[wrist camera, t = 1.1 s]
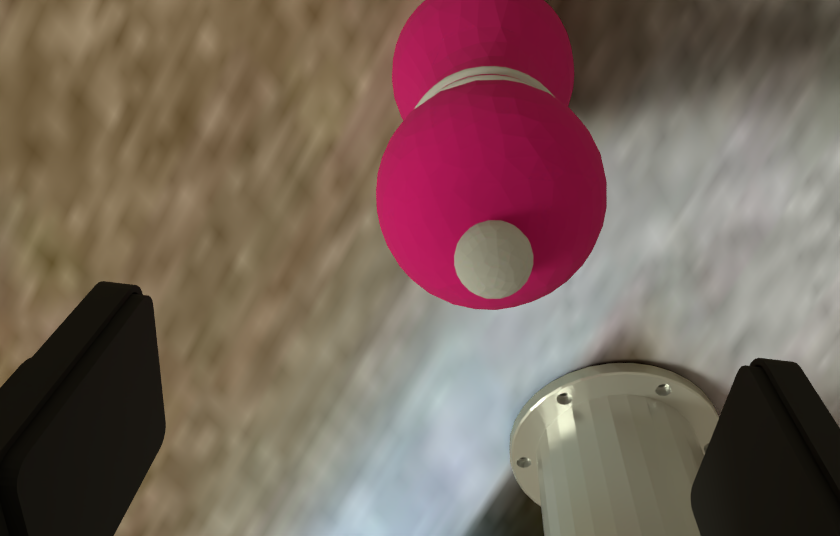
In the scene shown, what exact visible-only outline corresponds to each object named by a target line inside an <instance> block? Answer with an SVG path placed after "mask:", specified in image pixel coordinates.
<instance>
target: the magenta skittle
mask: <svg viewBox="0 0 840 536" xmlns="http://www.w3.org/2000/svg"><path fill="white" fill-rule="evenodd" d="M392 82H393V90H394V97H395V100H396V103H397V106H398V109H399V112H400V114H401V117H402V119H403V120H404V121H403V122H402V123H401V125H400V126H399V127H398V129H397V130H396V131H395V133H394V134H393V136H392V137H391V139H390V141H389V143H388V145H387V148H386V150H385V152H384V154H383V157H382V160H381V164H380V167H379V171H378V177H377V187H376V199H377V213H378V218H379V223H380V227H381V230H382V233H383V235H384V238H385V241H386V243H387V246H388V248H389V249H390V251H391V253H392V254H393V256H394V257H395V259H396V261H397V262H398V264H399V266H400V267H401V268H402V269H403V270H404V271H405V273H406V274H407V275H408V276H409V277H410V278H411V279H412V280H413V281H414V282H416V283H417V284H418V285H420V286H421V287H422V288H423V289H425V290H426V291H427V292H429V293H430V294H432V295H434V296H437V297H439V298H441V299H443V300H445V301H447V302H450V303H452V304H455V305H459V306H464V307H468V308H473V309H488V310H498V309H504V308H510V307H515V306H519V305H522V304H526V303H529V302H532V301H534V300H537V299H539V298H541V297H543V296H545V295H547V294H550V293H551V292H553V291H554V290H555V289H557V288H558V287H560V286H561V285H562V284H564V283H565V282H567V281H568V280H569V279H570V278H571V277H572V276H573V274H574V273H575V272H576V271H577V270H578V269H579V268H580V267H581V266H582V265H583V264H584V262H585V261H586V259H587V258H588V256H589V255H590V253H591V252H592V250H593V247H594V245H595V243H596V241H597V239H598V236H599V234H600V231H601V229H602V227H603V222H604V217H605V212H606V177H605V173H604V168H603V164H602V159H601V154H600V152H599V150H598V148H597V146H596V144H595V142H594V140H593V138H592V136H591V134H590V132H589V131H588V129H587V128H586V127H585V125H584V124H583V123H582V122H581V121H580V119H579V118H578V117H577V116H576V115H575V114H574V113H573V112H572V110H571V109H570V108H569V107H568V105H569V102H570V98H571V95H572V91H573V84H574V63H573V55H572V48H571V44H570V41H569V38H568V34H567V32H566V30H565V28H564V26H563V24H562V22H561V20H560V18H559V17H558V15H557V14H556V13H555V11H554V10H553V9H552V7H551V6H550V5H548V4H547V3H546V2H545V1H544V0H425V1H424V2H423V3H422V4H421V5H420V6H418V7H417V9H416V10H415V11H414V12H413V14H412V15H411V16H410V17H409V19H408V20H407V22H406V24H405V26H404V27H403V29H402V31H401V33H400V36H399V39H398V41H397V44H396V48H395V52H394V57H393V71H392Z"/></svg>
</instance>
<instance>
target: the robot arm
mask: <svg viewBox="0 0 840 536" xmlns="http://www.w3.org/2000/svg"><path fill="white" fill-rule="evenodd" d="M165 428H166V423H165V413H164V403H163V394H162V384H161V375H160V365H159V356H158V346H157V337H156V327H155V318H154V308H153V302H152V299H151V297H150V296H146V295H143V294H142V291H141V289H140V287H139V286H137V285H130V284H122V283H113V282H105V281H103V282H99V283H98V284H96V285H95V286H94V288H93V289H92V290H91V291H90V292H89V293H88V294H87V296H86V297H85V298H84V299H83V300H82V301H81V302H80V303H79V305H78V306H77V307H76V308H75V309H74V310H73V311H72V313H71V314H70V315H69V316H68V317H67V318H66V319H65V320H64V322H63V323H62V324H61V325H60V326H59V327H58V328H57V329H56V331H55V332H54V333H53V334H52V335H51V336H50V337H49V339H48V340H47V341H46V342H45V343H44V344H43V345H42V346H41V348H40V349H39V350H38V351H37V352H36V353H35V354H34V356H33V357H32V358H29V359H27V360H26V361H25V362H24V363H23V364H21V365H20V366H19V367H18V369H17V370H16V371H15V372H14V373H13V374H12V375H11V376H10V378H9V379H8V380H7V381H6V382H5V383H4V384H3V385H2V387H1V388H0V536H114V534H115V532H116V530H117V528H118V526H119V524H120V523H121V521H122V519H123V517H124V515H125V513H126V511H127V509H128V508H129V506H130V504H131V502H132V500H133V498H134V496H135V494H136V492H137V491H138V489H139V487H140V485H141V483H142V481H143V479H144V477H145V475H146V474H147V472H148V470H149V468H150V466H151V464H152V462H153V460H154V459H155V457H156V455H157V453H158V451H159V449H160V447H161V445H162V442H163V439H164V435H165ZM509 450H510V462H511V467H512V470H513V473H514V476H515V478H516V480H517V482H518V483H519V485H520V486H521V488H522V490H523V491H524V492H525V493H526V494H527V495H528V496H529V497H530V498H531V499H532V500H533V501H534V502H535V503H537V504H538V505H540V506H541V508H542V517H543V526H544V536H840V428H839V427H838V425H837V423H836V422H835V420H834V419H833V417H832V416H831V414H830V413H829V411H828V409H827V408H826V406H825V405H824V403H823V402H822V400H821V398H820V397H819V395H818V394H817V392H816V391H815V389H814V388H813V386H812V384H811V383H810V381H809V380H808V378H807V377H806V375H805V374H804V372H803V370H802V369H801V367H800V366H799V365H798V364H797V363H794V362H789V361H781V360H772V359H764V358H757V359H754V360H753V361H752V362H751V364H750V366H742V367H741V368H740V369H739V371H738V372H737V375H736V377H735V380H734V382H733V385H732V387H731V390H730V392H729V395H728V397H727V400H726V402H725V405H724V407H723V410H722V412H721V415H720V417H719V416H718V414H717V412H716V410H715V408H714V406H713V404H712V402H711V401H710V400H709V399H708V397H707V396H706V395H705V394H704V392H703V391H702V390H701V389H699V388H698V387H697V386H696V385H694V384H693V383H692V382H691V381H689V380H688V379H686V378H684V377H682V376H680V375H678V374H676V373H674V372H672V371H669V370H665V369H662V368H659V367H655V366H651V365H644V364H636V363H609V364H603V365H597V366H591V367H587V368H584V369H581V370H577V371H574V372H571V373H568V374H566V375H564V376H562V377H560V378H558V379H556V380H555V381H553V382H551V383H549V384H548V385H546V386H545V387H544V388H542V389H541V390H540V391H538V392H537V393H536V394H535V395H534V396H533V397H532V398H531V399H530V400H529V401H528V402H527V403H526V404H525V405H524V406H523V408H522V410H521V411H520V413H519V415H518V416H517V418H516V420H515V422H514V425H513V428H512V431H511V434H510V449H509Z"/></svg>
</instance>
